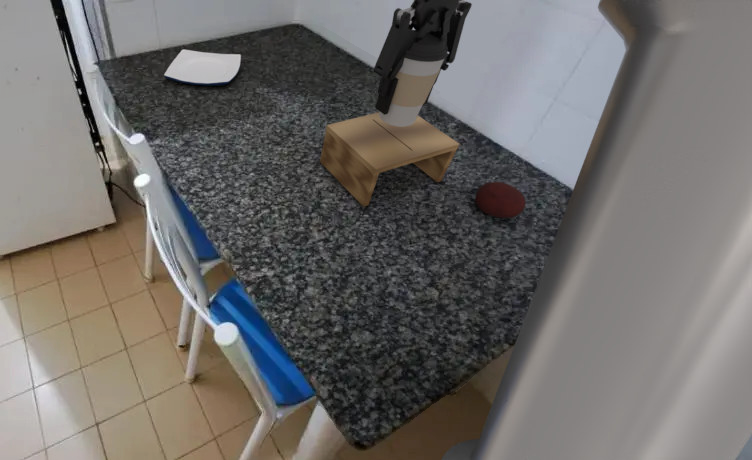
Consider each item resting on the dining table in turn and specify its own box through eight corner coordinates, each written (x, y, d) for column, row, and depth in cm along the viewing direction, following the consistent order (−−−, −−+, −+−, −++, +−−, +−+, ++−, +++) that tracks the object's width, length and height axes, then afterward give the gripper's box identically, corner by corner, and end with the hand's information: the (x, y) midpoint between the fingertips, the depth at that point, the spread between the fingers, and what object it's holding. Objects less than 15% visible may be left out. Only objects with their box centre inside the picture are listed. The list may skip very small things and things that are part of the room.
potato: (490, 230, 72) (507, 206, 68) (460, 201, 78) (474, 177, 73) (522, 222, 74) (540, 198, 69) (490, 194, 79) (505, 170, 75)
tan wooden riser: (441, 181, 82) (460, 143, 75) (363, 207, 76) (376, 168, 69) (391, 141, 92) (404, 105, 85) (319, 161, 86) (326, 124, 79)
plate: (160, 85, 110) (159, 76, 108) (181, 56, 124) (180, 47, 122) (231, 93, 108) (231, 83, 106) (244, 62, 122) (244, 53, 120)
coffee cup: (416, 106, 78) (445, 26, 67) (426, 131, 71) (460, 47, 60) (369, 103, 78) (391, 23, 67) (376, 128, 72) (401, 43, 61)
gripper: (482, -50, 62) (430, 86, 78) (373, -37, 56) (342, 107, 72) (522, -39, 57) (458, 104, 74) (409, -24, 51) (366, 128, 68)
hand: (400, 105), depth 73 cm, fingers closed on coffee cup, 8 cm apart
